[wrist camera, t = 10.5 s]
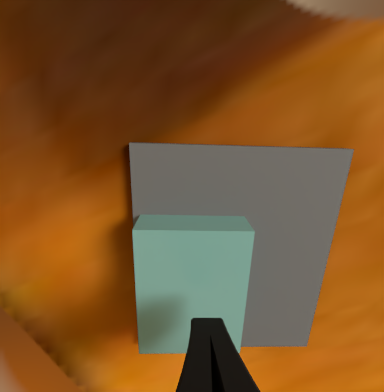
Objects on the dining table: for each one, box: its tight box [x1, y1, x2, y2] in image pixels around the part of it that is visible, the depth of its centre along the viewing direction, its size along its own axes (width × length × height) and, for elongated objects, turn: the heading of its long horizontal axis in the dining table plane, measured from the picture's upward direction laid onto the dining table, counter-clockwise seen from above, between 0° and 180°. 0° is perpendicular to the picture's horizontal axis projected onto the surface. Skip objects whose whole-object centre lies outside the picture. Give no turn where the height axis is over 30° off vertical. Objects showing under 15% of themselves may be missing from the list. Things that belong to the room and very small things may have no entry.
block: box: [132, 215, 255, 354], centre depth 13 cm, size 8×2×6 cm
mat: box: [129, 142, 354, 347], centre depth 14 cm, size 14×12×1 cm
